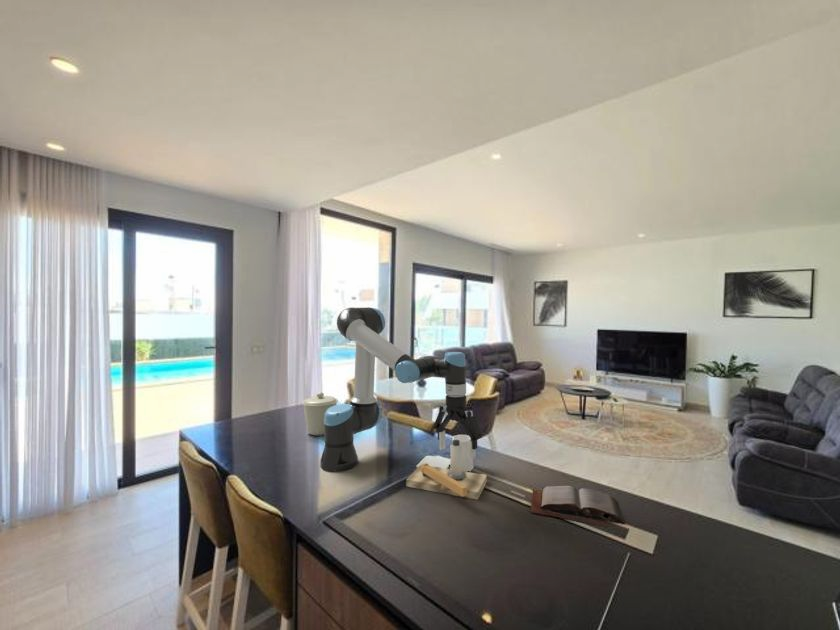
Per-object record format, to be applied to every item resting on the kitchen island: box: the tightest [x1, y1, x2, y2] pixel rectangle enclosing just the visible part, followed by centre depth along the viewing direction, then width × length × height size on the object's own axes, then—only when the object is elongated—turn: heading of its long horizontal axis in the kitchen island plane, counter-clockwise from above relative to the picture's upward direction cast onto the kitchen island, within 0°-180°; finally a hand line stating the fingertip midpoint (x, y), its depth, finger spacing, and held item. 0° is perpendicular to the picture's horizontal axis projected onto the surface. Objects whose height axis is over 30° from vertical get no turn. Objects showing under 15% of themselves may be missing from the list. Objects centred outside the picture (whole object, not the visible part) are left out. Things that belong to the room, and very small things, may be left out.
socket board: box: [405, 465, 488, 501], centre depth 134 cm, size 26×14×4 cm, turn 68°
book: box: [529, 485, 626, 528], centre depth 118 cm, size 20×28×4 cm
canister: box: [301, 391, 339, 436], centre depth 193 cm, size 18×18×21 cm
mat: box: [415, 455, 450, 469], centre depth 151 cm, size 12×12×1 cm
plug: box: [447, 439, 466, 481], centre depth 134 cm, size 7×7×16 cm
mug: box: [452, 434, 475, 472], centre depth 147 cm, size 12×8×12 cm
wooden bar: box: [421, 463, 467, 498], centre depth 127 cm, size 23×3×3 cm, turn 35°
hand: (457, 453), depth 134 cm, fingers open, 13 cm apart
